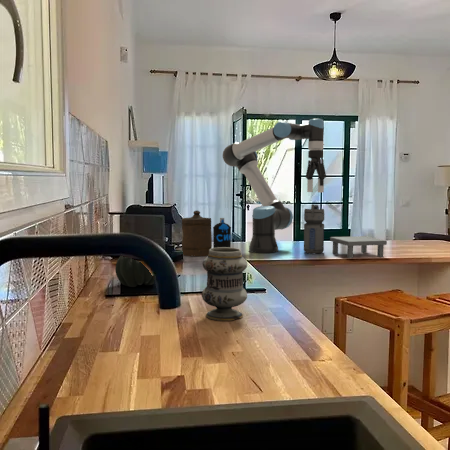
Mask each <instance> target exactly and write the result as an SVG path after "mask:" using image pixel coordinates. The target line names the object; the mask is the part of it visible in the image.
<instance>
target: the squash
mask: <svg viewBox="0 0 450 450" xmlns="http://www.w3.org/2000/svg"><path fill="white" fill-rule="evenodd" d="M114 269H115V275H116V277H117V279H118V281H119V282H120V284H122V285H123V286H124V287H125V286H126V287H131V288H135V287H138V285H139V286H141V285H145V286H152V285H154V284H155V283H154V279H153V277H152V275H151V273H150V272H149V270H148V269H147V268H146V267H145V266H144V265H143V264H142V263H141V262H139V261H137V260H134V259H132V258H128V257H123V256H121V255H120V256H119V257H118V258H117V261H116V263H115V268H114Z"/></svg>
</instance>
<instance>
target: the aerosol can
mask: <svg viewBox="0 0 450 450" xmlns="http://www.w3.org/2000/svg"><path fill="white" fill-rule="evenodd" d="M212 230H213V231H212V232H213V235H212V236H213V237H212V238H213V239H212V246H213V247H212V248H218V247H231V246H232V245H231V243H232V241H231V239H232V238H231V236H232V235H231V234H232V232H231V230H232V226H230V225H229V224H228V223H226V222H225V217H220V218H219V222H218V223H216V224H214V226H212ZM231 248H232V247H231Z"/></svg>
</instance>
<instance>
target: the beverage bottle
mask: <svg viewBox="0 0 450 450" xmlns="http://www.w3.org/2000/svg"><path fill="white" fill-rule="evenodd" d="M303 210H304V212H303V216H304V217H303V219H304V222H305V223H304V224H303V252H304V253H306V254H309V253H310V255H318V254H322V253H323V252H324V251H325V248H324V247H325V243H324V241H325V224H324V221H325V209H324V208H321V209H320V207H319V205H318V204H315V203H313V204H312V203H311V208H304V209H303Z"/></svg>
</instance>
